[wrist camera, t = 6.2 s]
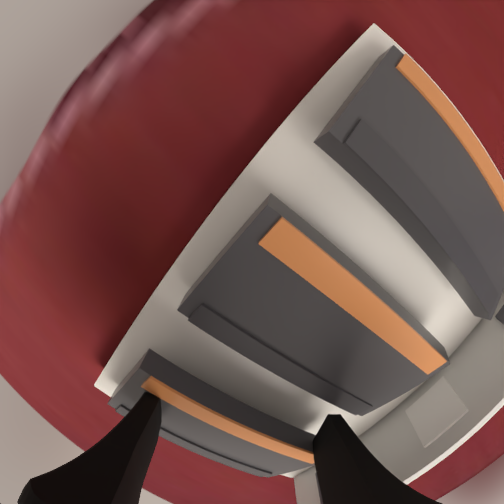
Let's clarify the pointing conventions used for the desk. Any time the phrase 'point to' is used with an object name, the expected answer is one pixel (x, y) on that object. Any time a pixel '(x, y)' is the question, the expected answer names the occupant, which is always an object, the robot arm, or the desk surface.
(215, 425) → the switch
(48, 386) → the desk surface
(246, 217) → the switch unit
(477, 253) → the switch
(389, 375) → the switch
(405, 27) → the desk surface
